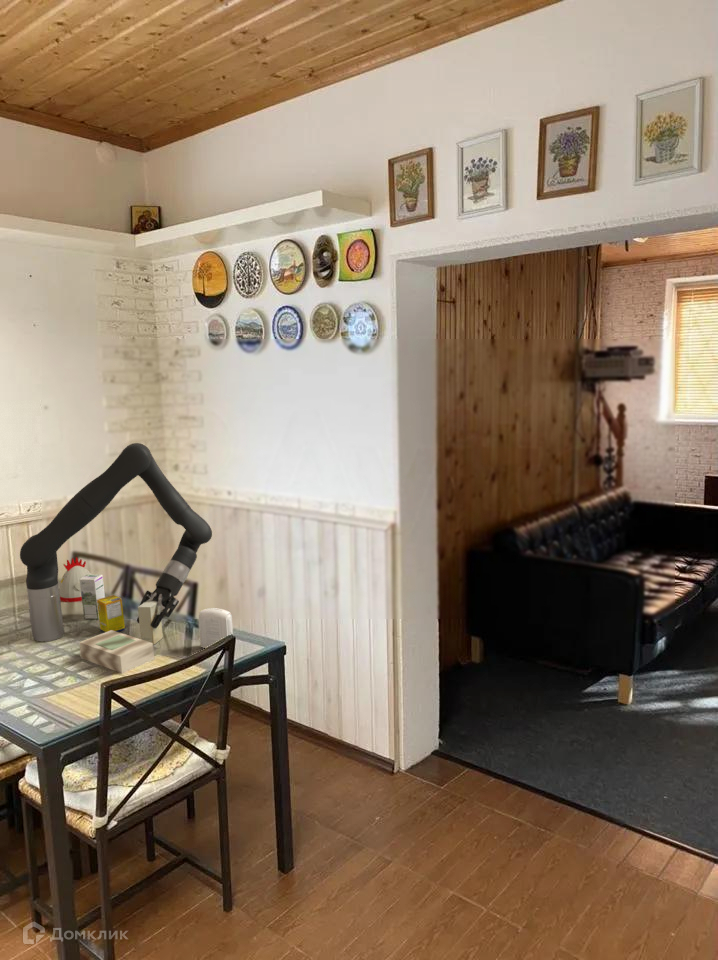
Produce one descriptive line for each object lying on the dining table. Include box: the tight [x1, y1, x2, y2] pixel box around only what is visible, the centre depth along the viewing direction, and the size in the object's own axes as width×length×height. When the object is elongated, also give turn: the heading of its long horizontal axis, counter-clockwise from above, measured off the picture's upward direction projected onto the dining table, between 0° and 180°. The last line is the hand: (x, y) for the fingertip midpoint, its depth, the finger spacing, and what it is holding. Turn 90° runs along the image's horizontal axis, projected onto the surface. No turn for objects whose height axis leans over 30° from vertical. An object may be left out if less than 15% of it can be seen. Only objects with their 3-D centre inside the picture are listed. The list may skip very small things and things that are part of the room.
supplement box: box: [97, 594, 126, 633], centre depth 234 cm, size 6×6×11 cm
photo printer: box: [198, 607, 234, 649], centre depth 216 cm, size 10×4×12 cm, turn 72°
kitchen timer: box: [59, 556, 92, 603], centre depth 271 cm, size 14×14×15 cm
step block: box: [78, 630, 155, 674], centre depth 212 cm, size 20×11×5 cm, turn 53°
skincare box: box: [137, 601, 164, 646], centre depth 223 cm, size 6×4×12 cm
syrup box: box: [80, 574, 106, 620], centre depth 248 cm, size 6×6×14 cm
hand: (146, 624), depth 222 cm, fingers closed on skincare box, 6 cm apart
